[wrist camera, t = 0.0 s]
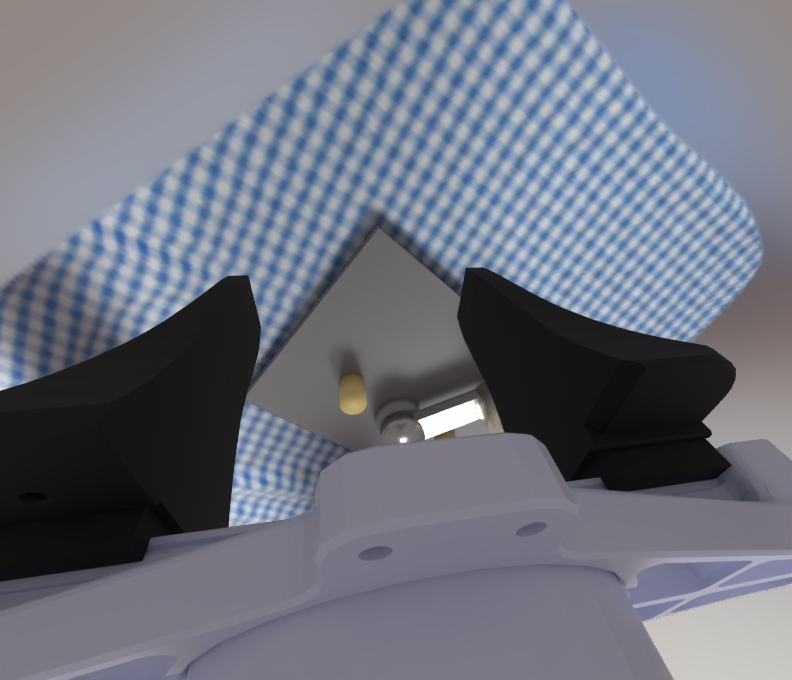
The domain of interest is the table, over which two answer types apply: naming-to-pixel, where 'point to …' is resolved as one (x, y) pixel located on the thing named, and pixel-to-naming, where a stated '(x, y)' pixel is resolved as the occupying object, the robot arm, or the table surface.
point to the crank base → (371, 351)
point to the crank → (442, 417)
